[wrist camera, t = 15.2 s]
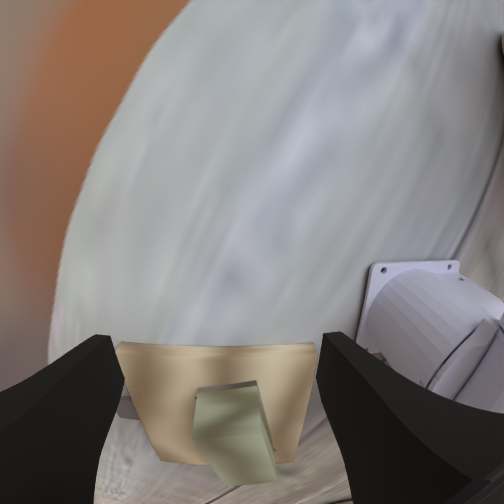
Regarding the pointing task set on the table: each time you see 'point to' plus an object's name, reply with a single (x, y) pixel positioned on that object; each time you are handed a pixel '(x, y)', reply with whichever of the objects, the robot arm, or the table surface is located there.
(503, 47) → the canister
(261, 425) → the block
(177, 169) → the table surface
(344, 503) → the serving bowl
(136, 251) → the table surface
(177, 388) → the board
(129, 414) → the small gray block
